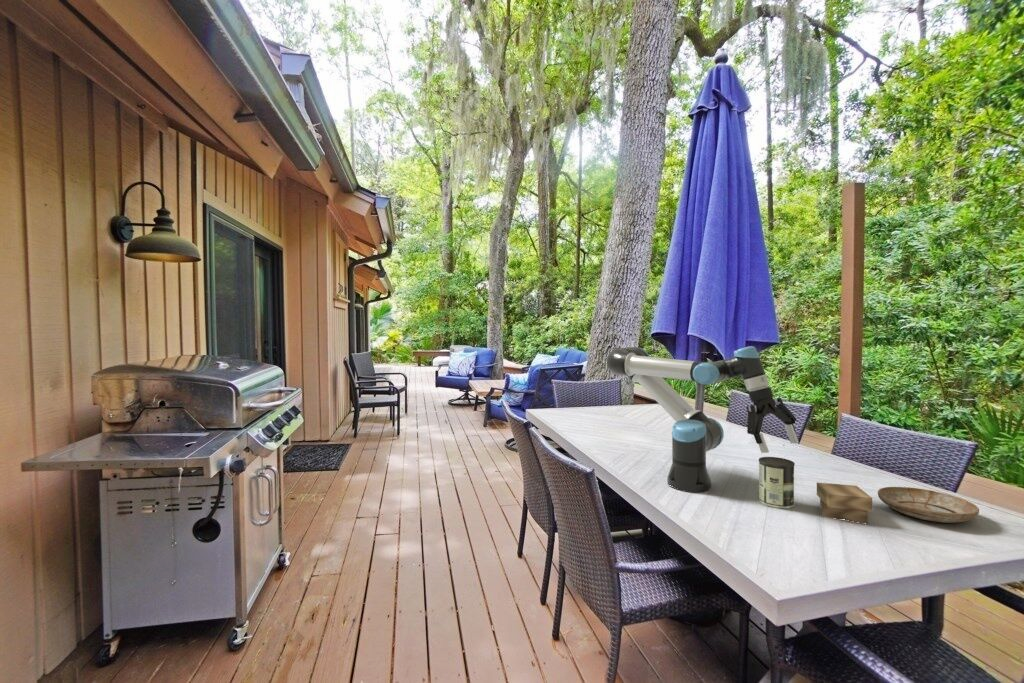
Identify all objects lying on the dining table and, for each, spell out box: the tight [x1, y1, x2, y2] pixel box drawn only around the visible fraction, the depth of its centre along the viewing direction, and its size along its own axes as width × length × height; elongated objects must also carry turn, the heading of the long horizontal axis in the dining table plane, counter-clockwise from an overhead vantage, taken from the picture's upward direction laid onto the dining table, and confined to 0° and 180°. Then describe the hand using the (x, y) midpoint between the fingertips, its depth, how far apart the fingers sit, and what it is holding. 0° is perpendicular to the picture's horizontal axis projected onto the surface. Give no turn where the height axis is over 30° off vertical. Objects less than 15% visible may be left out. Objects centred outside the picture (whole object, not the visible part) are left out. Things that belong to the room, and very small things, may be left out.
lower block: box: [819, 498, 869, 525], centre depth 140 cm, size 11×11×4 cm
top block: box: [816, 482, 873, 512], centre depth 140 cm, size 11×11×4 cm
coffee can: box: [758, 456, 796, 509], centre depth 150 cm, size 10×10×14 cm
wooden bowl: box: [877, 486, 980, 524], centre depth 140 cm, size 23×24×5 cm
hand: (780, 447), depth 157 cm, fingers open, 13 cm apart
